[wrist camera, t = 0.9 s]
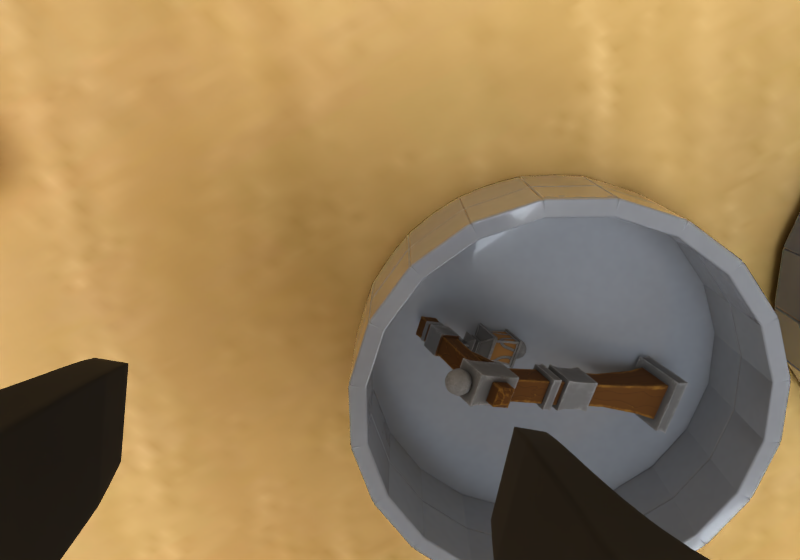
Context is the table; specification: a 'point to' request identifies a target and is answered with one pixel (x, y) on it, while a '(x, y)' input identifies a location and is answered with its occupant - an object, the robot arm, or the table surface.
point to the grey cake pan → (565, 359)
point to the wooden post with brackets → (547, 377)
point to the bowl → (790, 298)
